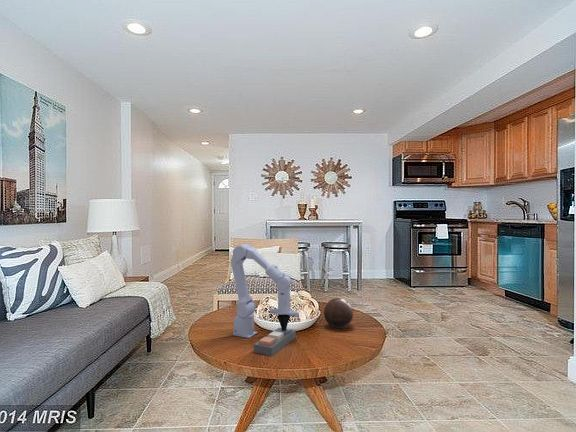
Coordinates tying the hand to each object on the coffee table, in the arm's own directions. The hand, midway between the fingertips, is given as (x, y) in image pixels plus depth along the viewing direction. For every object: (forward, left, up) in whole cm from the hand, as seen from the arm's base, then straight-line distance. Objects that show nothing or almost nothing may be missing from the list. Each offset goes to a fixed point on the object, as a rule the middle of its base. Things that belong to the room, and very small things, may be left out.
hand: (284, 330), depth 164 cm
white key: (0, -8, -2) cm, 8 cm away
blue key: (0, 0, -2) cm, 2 cm away
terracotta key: (0, -16, -1) cm, 16 cm away
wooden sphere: (+18, +27, -4) cm, 33 cm away
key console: (0, -8, -4) cm, 9 cm away
